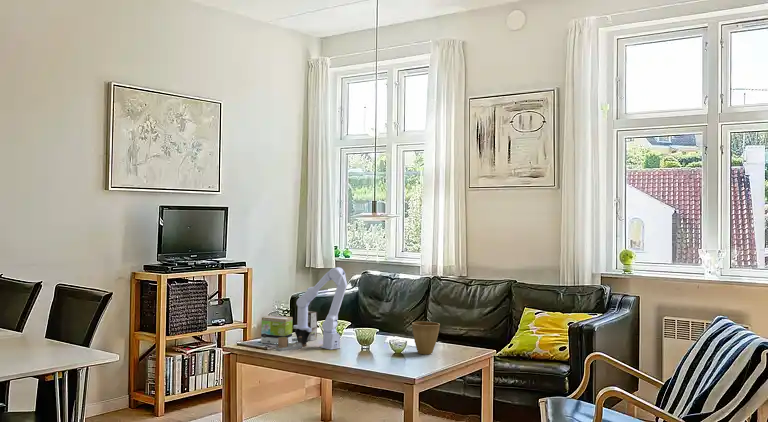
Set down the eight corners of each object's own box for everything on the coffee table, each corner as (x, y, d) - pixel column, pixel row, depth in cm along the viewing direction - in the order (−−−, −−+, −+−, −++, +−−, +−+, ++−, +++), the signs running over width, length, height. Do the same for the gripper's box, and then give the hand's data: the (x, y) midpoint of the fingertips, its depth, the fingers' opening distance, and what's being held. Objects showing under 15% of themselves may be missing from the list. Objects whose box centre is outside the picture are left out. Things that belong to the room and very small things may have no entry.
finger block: (306, 346, 387) (306, 337, 387) (301, 346, 384) (301, 337, 384) (302, 345, 389) (302, 336, 389) (297, 345, 387) (297, 336, 387)
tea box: (260, 343, 392) (261, 317, 392) (268, 340, 401) (269, 314, 401) (284, 345, 387) (285, 318, 387) (292, 342, 397) (293, 316, 397)
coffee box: (317, 339, 408) (317, 311, 408) (310, 341, 403) (311, 313, 403) (305, 337, 413) (305, 310, 413) (298, 339, 408) (298, 311, 408)
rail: (302, 348, 380) (302, 336, 380) (280, 351, 370) (280, 338, 370) (296, 346, 384) (296, 334, 384) (275, 349, 374) (275, 337, 374)
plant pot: (437, 356, 364) (438, 326, 364) (409, 355, 367) (409, 324, 367) (440, 351, 379) (441, 322, 379) (413, 350, 382) (414, 320, 382)
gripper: (289, 317, 389) (288, 342, 389) (304, 320, 379) (304, 346, 379) (299, 316, 394) (298, 340, 394) (315, 319, 384) (314, 344, 383)
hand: (302, 343), depth 387 cm, fingers closed on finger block, 3 cm apart
